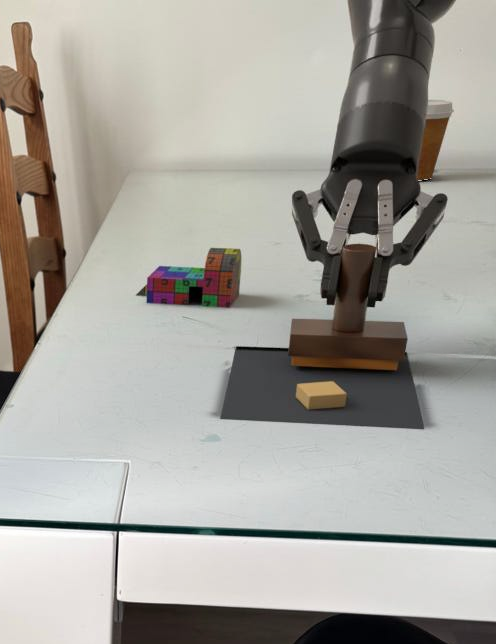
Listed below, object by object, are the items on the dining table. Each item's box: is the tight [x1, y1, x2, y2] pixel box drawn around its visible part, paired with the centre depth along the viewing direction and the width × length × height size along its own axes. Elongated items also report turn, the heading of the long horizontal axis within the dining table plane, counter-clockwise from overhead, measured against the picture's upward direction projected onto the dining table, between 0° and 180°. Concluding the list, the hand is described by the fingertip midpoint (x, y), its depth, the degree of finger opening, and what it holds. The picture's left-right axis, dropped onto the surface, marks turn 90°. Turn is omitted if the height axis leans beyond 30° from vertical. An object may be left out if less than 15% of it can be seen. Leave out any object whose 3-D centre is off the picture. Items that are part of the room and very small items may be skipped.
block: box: [135, 247, 242, 309], centre depth 113 cm, size 12×8×7 cm
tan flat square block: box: [296, 381, 347, 410], centre depth 85 cm, size 3×3×1 cm
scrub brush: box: [288, 243, 408, 370], centre depth 90 cm, size 10×5×10 cm, turn 76°
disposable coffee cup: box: [417, 99, 454, 180], centre depth 173 cm, size 10×10×12 cm
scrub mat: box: [219, 345, 425, 430], centre depth 90 cm, size 16×21×1 cm
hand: (351, 300), depth 88 cm, fingers closed on scrub brush, 3 cm apart
